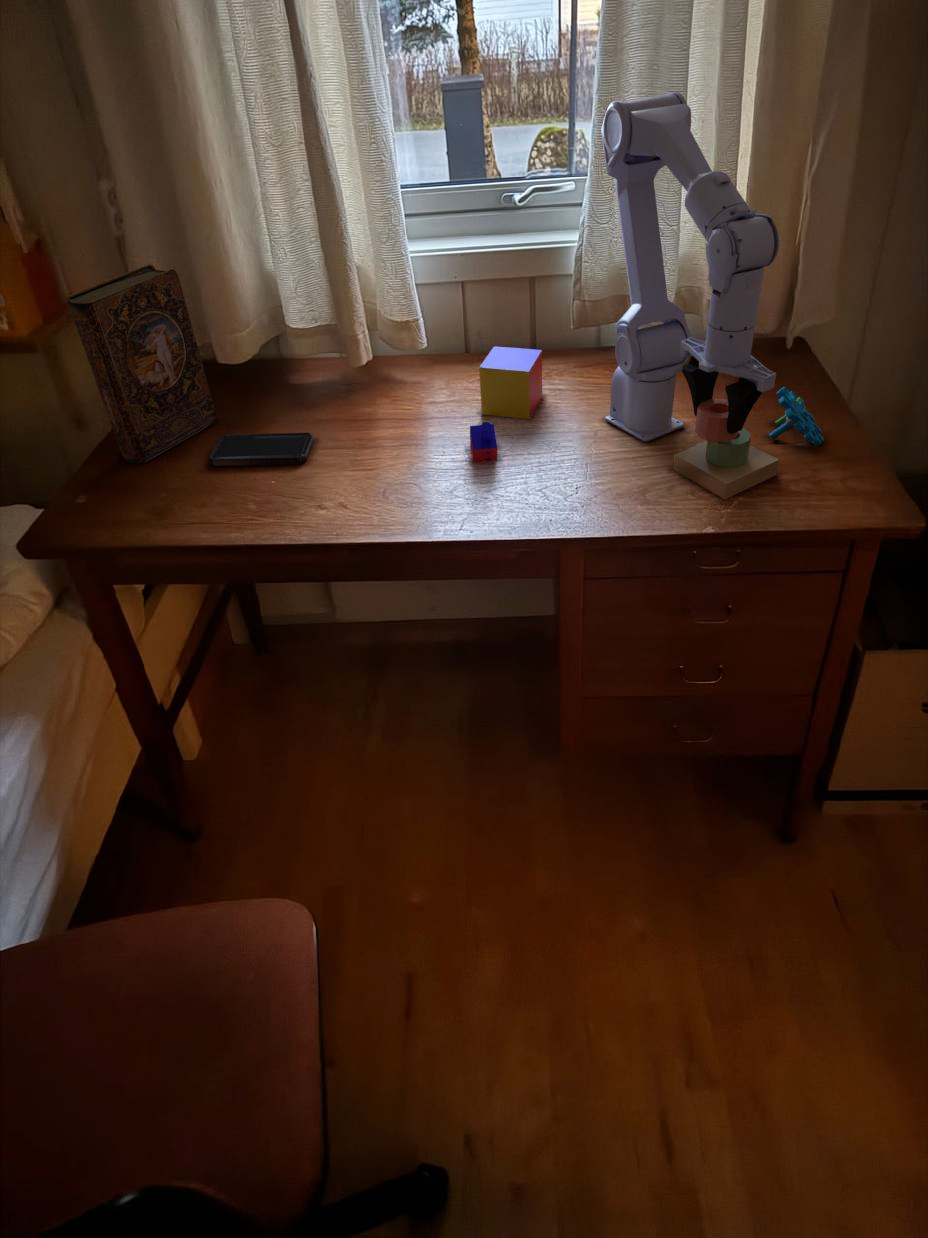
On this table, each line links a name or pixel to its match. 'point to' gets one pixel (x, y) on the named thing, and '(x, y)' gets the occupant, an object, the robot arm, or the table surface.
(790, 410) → the gear
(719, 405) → the coral ring
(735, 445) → the green ring
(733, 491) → the birch block
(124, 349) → the book
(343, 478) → the table surface
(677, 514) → the table surface
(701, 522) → the table surface
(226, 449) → the phone
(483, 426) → the toy building block
